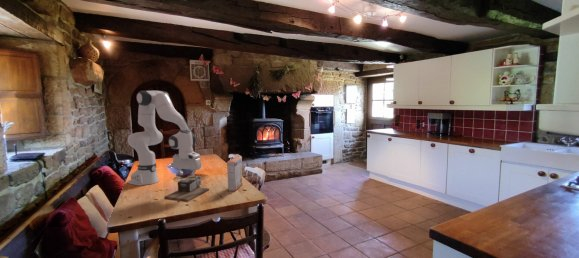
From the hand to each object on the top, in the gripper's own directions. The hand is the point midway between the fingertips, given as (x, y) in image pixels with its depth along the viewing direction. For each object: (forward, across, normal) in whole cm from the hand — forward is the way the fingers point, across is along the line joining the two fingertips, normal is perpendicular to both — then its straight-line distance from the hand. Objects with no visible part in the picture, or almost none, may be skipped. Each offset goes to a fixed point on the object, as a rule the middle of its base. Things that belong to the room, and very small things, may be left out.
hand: (187, 175), depth 182 cm
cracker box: (+13, +24, +21) cm, 34 cm away
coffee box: (+8, -6, +17) cm, 20 cm away
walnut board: (+13, 0, 0) cm, 13 cm away
